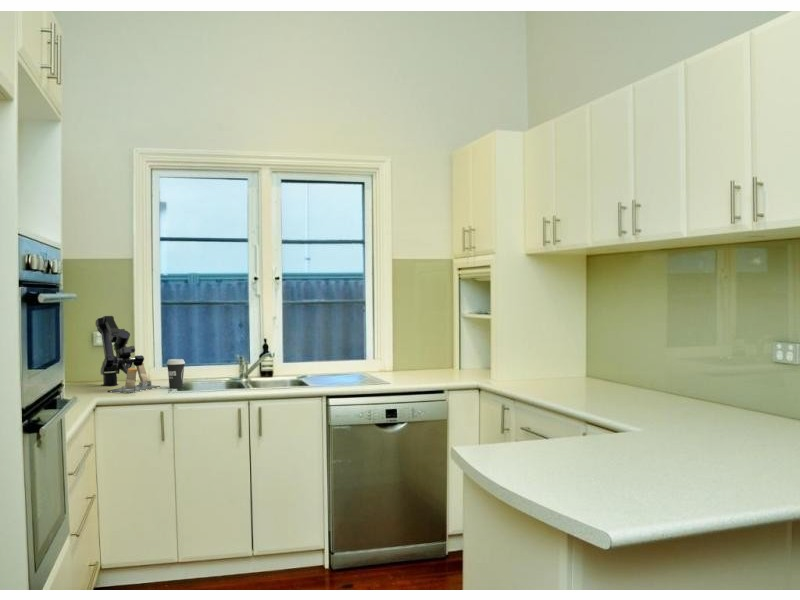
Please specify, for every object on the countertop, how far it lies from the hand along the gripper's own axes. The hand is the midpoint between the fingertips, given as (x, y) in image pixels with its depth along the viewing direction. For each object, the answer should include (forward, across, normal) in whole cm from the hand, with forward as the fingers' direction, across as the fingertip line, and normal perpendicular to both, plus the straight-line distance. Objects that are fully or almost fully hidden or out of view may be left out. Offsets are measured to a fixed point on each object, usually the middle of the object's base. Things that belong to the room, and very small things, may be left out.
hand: (127, 374), depth 342 cm
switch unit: (+3, +5, +10) cm, 11 cm away
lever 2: (-1, +12, +12) cm, 17 cm away
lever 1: (+7, 0, +3) cm, 7 cm away
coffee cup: (+8, +24, +5) cm, 26 cm away
